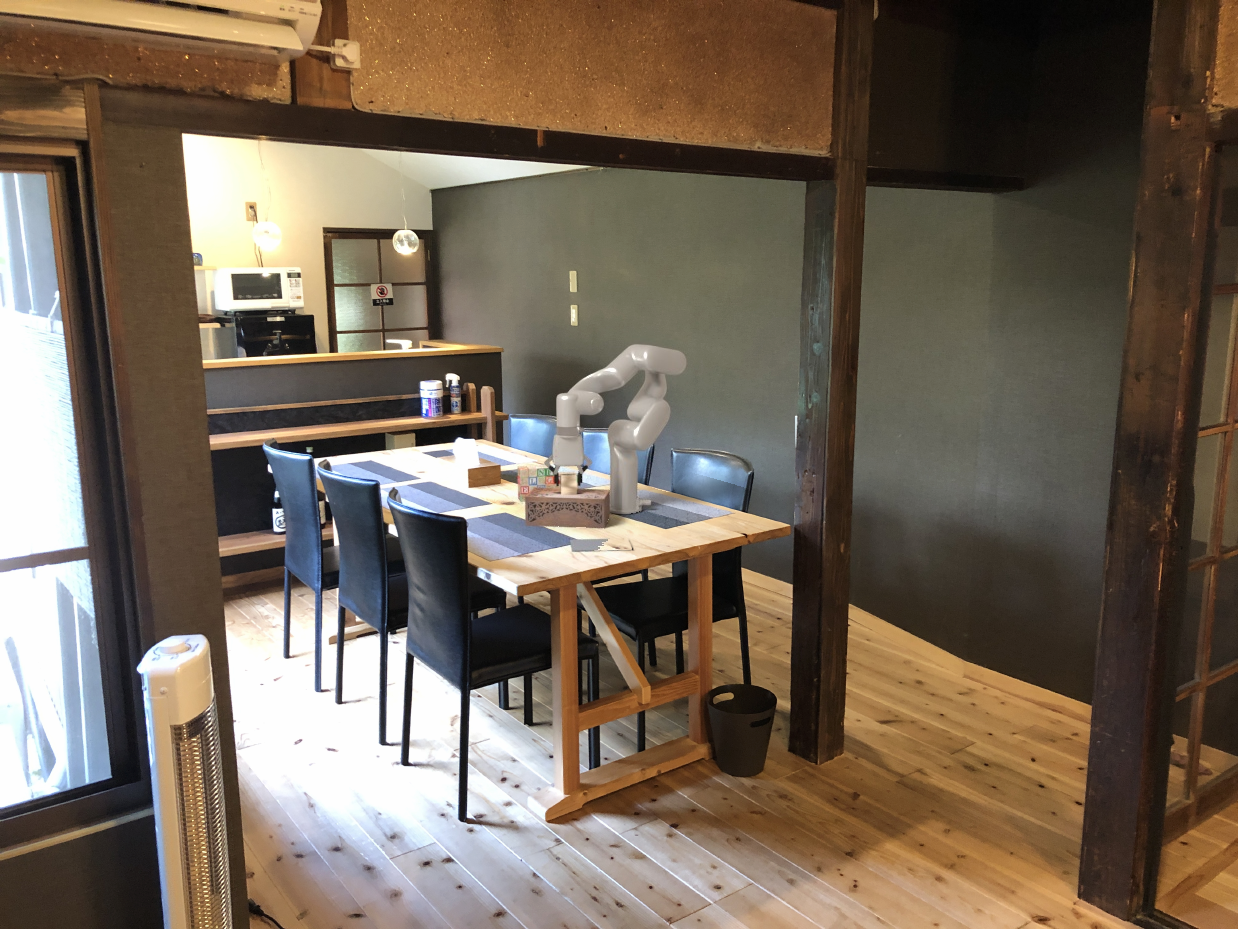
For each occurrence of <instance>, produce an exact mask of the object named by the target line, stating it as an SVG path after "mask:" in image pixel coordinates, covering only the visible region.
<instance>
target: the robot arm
mask: <svg viewBox="0 0 1238 929" xmlns="http://www.w3.org/2000/svg"><path fill="white" fill-rule="evenodd" d="M686 366H687V357H686V355H685V354H684V353H683V352H682V351H680V350H678V349H671V348H666V347H660V346H655V345H651V344H639V343H638V344H637V343H635V344H632V345H629V346H628V347H626V348H625V349H624V350H623V351H622V352H621V353H620V354H619V355H617V357H615V358H614V359H613V360H612V361H611V362H610V363H609V364H608V365H607V366H606V367H604V368H602V369H599V370H597V371H595V372H593V373H590V374H589V375H587V376H585V377H583V378H581V379H580V380H579V381H578V382H577V383H576V384H575V385H573V386H572V387H571V388H570V389H569V391H567V392H564V393H563V392H562V393H559V394H557V396H556V399H555V400H556V409H555V410H556V434H554V436H553V441H552V454H551V455H550V456H549V457H547V458H546V459H545V460H544V461H543V462H544V463H543V465H546V466H547V467H548V468H549V469H550V470H551V471H552V472H553V473H554V483H556V486H559V474H558V472H559V470H560V468H561V467H576V468H577V470H578V473H577V474H578V487H581V484H582V483H583V475H584V473H585V472H586V471H587V470H588V468H589V467H590V466H591V465H592V464H593V461H592V460H591V459H590V458H589V457H588V456H587V455H586V454H585V452H584V441H583V439H584V438H583V436H582V434H581V433H582V432H583V433H584V432H585V427H581V421H580V420H581V418H580V417H581V416H582V415H586V416H587V415H588V416H595V415H597V414H599V413H601V411H602V410H603V408H604V398H603V397H602V395H600V394H601V393H604V392H608V391H613V390H617V389H620V388H622V387H624V386H625V385H626V384H627V383H628V382H629V381H630V380H631V379H632V378H633V377H635V375H637V374H638V372H641V371H644V372H645V373H644V374H645V378H644V382H643V385H641V387H640V389H639V390H638V392H637V393H636V395H635V396H634V397H633V399H632V400H631V401H630V403H629V404H628V408H627V410H626V413H627V418H628V419H617V420H614V421H613V422H612V423H610V425H609V426H608V428H607V433H606V434H607V442H608V448H609V457H610V458H609V459H610V460H609V461H610V462H609V464H610V466H609V468H610V469H609V470H610V473H609V478H610V479H609V485H610V486H609V490H610V514H617V515H630V514H631V513H633V514H637V513H636V512H638V513H640V512H642V510H643V508H642V507H643V506H651V504H652V500H651V499H646V498H642V499H641V498H640V497H639V496H638V480H639V479H638V478H639V477H638V476H639V475H638V472H639V471H638V470H639V468H638V467H639V461H638V454H637V451H639V452H643V451H647V450H648V449H650V448H651V447H652V445H653V444H654V443H655V442H656V441H657V439H658V437H659V436H660V434H661V433H662V431H663V430H664V428H665V427H666V425H667V424H668V423H669V421H670V415H671V406H670V404H669V403H668V401H666V400H665V399H664V397H665V396H666V393H667V392H668V391H667V390H668V387H667V386H668V385H667V379H666V375H671V376H678V375H680V374H682V373H683V372H684V371H685V370H686ZM551 462H552V463H553V465H554V466H553V465H552V464H551ZM585 462H586V463H585ZM584 463H585V464H584ZM639 511H640V512H639ZM631 515H632V514H631Z"/></svg>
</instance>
